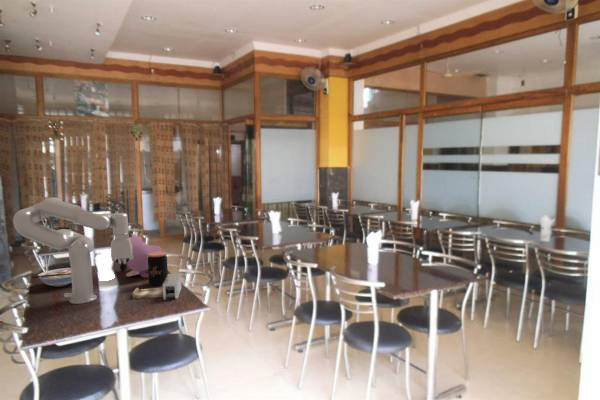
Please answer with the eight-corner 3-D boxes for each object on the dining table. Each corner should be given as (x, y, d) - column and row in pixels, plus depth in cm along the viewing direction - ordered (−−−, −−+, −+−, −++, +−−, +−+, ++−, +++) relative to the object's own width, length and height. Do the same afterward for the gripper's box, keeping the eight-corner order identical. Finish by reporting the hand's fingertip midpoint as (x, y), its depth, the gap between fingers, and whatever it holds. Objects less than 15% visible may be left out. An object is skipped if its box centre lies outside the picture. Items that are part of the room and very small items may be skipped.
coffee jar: (144, 285, 242) (143, 254, 240) (157, 280, 252) (156, 251, 250) (159, 287, 238) (158, 256, 236) (172, 282, 248) (170, 252, 246)
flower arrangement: (123, 277, 277) (111, 236, 273) (158, 265, 289) (147, 226, 286) (133, 285, 247) (119, 239, 244) (172, 271, 259) (160, 227, 256)
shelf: (163, 299, 216) (162, 284, 216) (168, 288, 236) (168, 273, 235) (177, 298, 218) (176, 283, 217) (181, 287, 237) (181, 273, 236)
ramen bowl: (88, 277, 260) (87, 264, 259) (81, 288, 238) (80, 274, 237) (42, 282, 252) (41, 268, 251) (31, 293, 230) (30, 278, 230)
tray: (132, 298, 219) (132, 293, 218) (136, 292, 228) (136, 287, 228) (162, 296, 221) (162, 291, 221) (165, 291, 231) (165, 286, 231)
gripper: (103, 239, 215) (106, 274, 217) (134, 237, 217) (137, 271, 219) (108, 236, 222) (110, 270, 224) (137, 234, 225) (139, 268, 226)
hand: (123, 270), depth 221 cm, fingers closed
